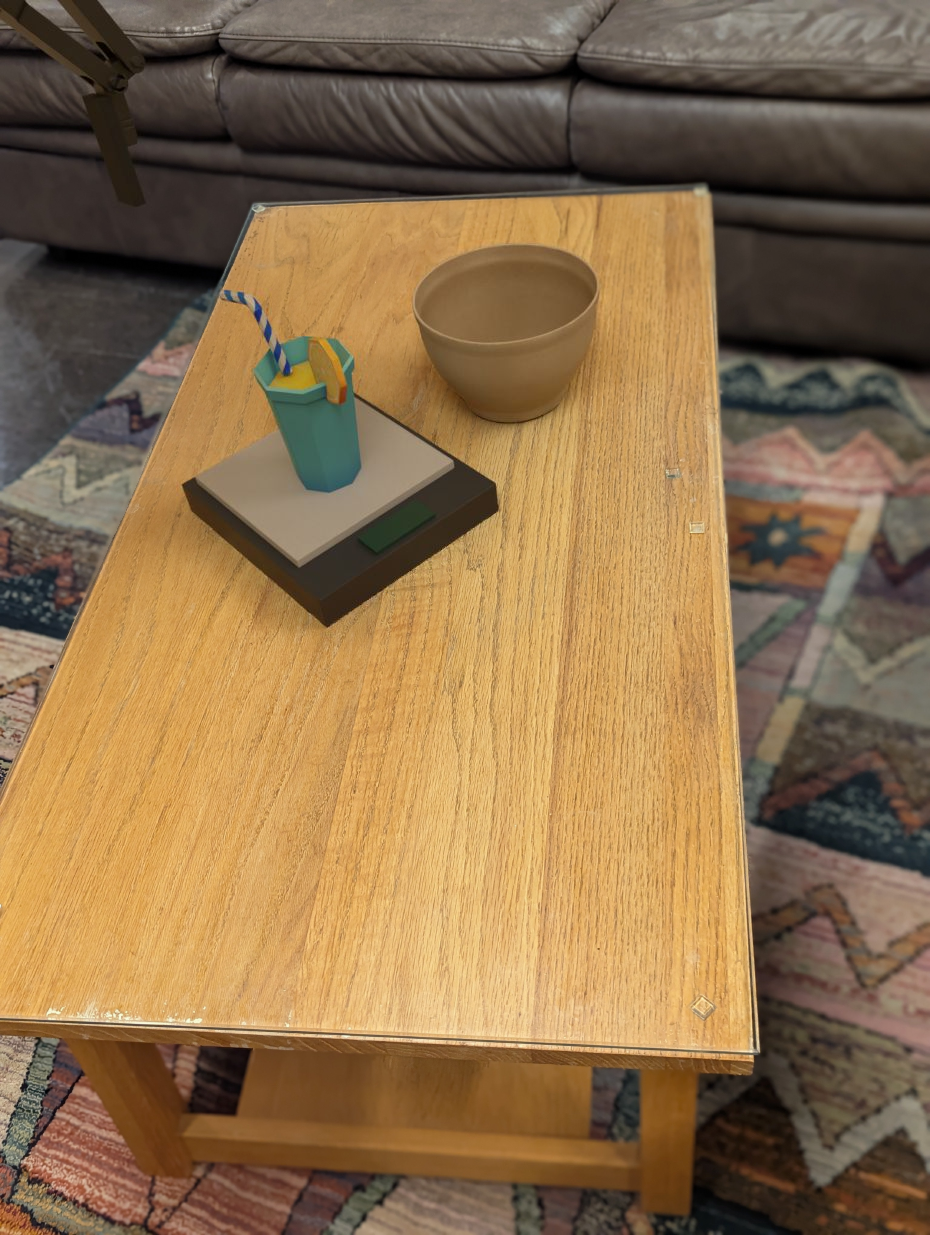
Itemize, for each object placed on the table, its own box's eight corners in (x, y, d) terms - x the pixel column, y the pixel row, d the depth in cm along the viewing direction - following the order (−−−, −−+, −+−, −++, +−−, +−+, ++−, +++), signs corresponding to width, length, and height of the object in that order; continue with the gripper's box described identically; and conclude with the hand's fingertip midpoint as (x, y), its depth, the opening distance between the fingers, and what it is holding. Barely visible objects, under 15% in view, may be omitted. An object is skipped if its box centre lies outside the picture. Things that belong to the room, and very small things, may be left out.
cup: (232, 464, 91) (180, 306, 80) (297, 416, 95) (256, 260, 84) (349, 526, 84) (310, 363, 73) (414, 472, 88) (387, 309, 77)
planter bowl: (475, 332, 108) (464, 230, 100) (626, 362, 102) (627, 256, 94) (396, 425, 99) (377, 321, 91) (557, 465, 93) (552, 357, 85)
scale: (326, 627, 82) (317, 593, 80) (190, 510, 94) (178, 477, 91) (499, 510, 90) (495, 475, 87) (353, 414, 101) (346, 380, 98)
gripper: (65, -208, 63) (180, 168, 76) (-409, -123, 52) (-179, 297, 65) (120, -223, 58) (233, 182, 71) (-391, -132, 47) (-147, 325, 60)
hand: (36, 238), depth 68 cm, fingers open, 13 cm apart
